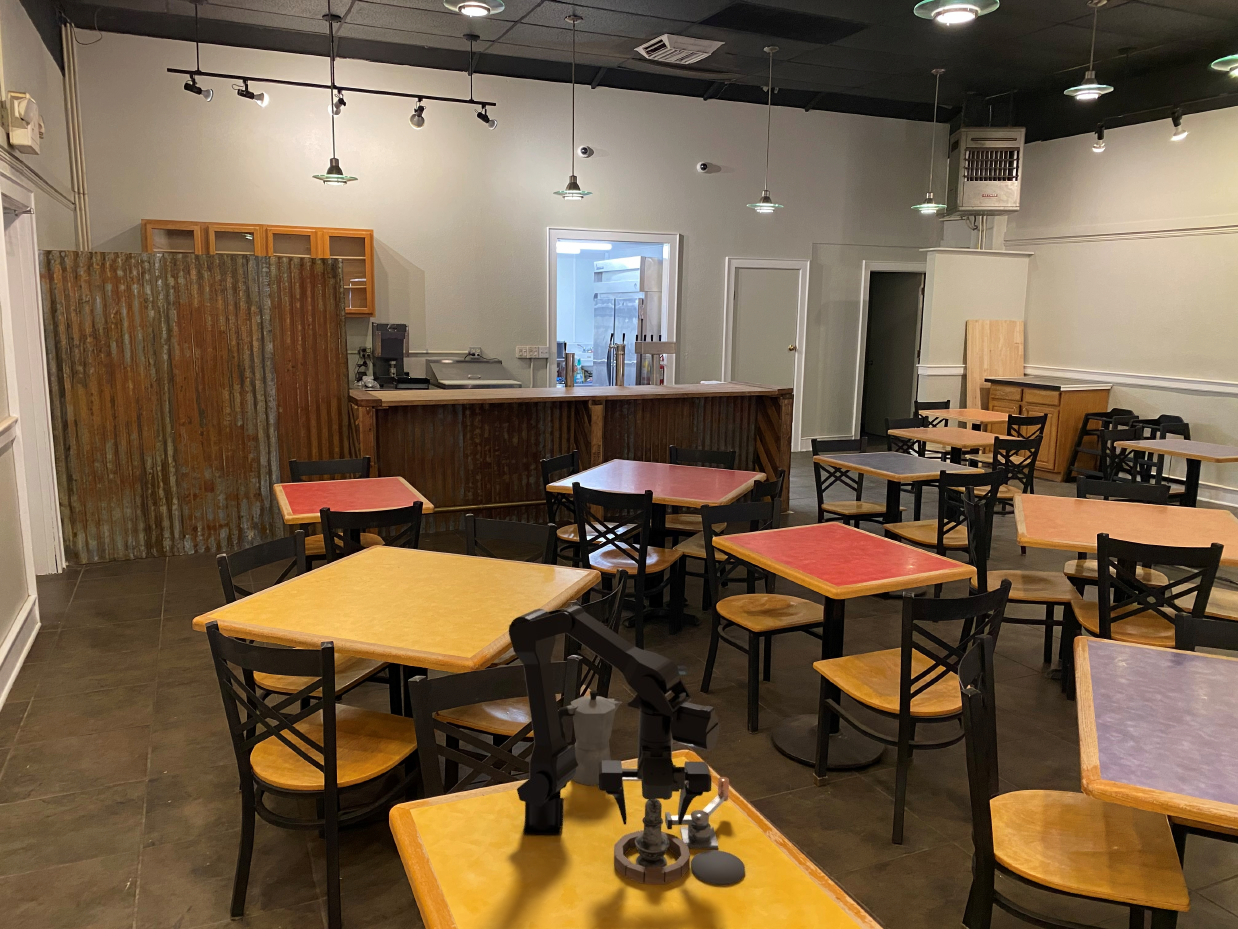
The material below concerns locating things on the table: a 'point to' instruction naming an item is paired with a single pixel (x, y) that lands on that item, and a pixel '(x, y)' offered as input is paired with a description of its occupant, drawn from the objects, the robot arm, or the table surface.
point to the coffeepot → (590, 733)
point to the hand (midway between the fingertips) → (652, 823)
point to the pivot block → (699, 837)
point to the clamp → (701, 817)
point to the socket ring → (651, 873)
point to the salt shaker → (652, 837)
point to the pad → (717, 867)
